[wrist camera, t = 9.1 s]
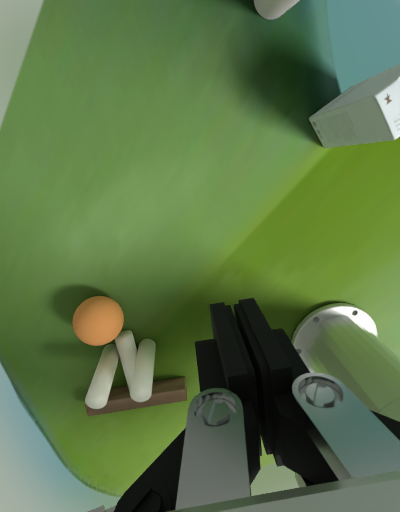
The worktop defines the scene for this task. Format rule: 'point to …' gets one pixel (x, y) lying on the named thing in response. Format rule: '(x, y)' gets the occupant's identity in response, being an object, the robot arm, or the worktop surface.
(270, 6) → the smoothie
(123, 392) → the brown wooden bar
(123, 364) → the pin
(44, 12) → the worktop surface
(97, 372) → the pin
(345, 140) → the skincare box
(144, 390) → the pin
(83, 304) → the brown egg
